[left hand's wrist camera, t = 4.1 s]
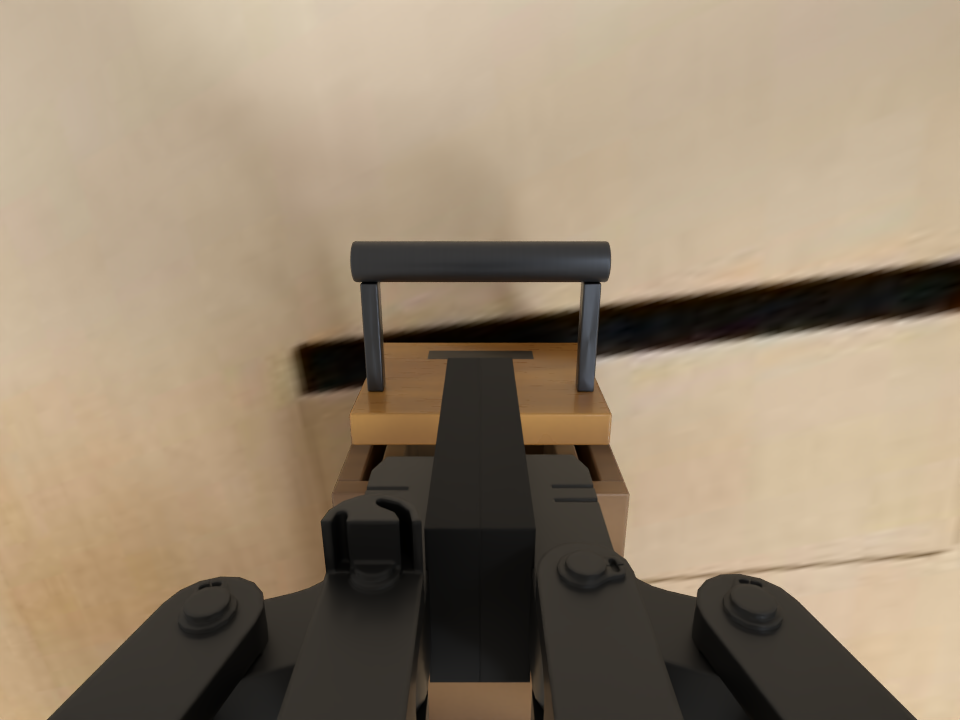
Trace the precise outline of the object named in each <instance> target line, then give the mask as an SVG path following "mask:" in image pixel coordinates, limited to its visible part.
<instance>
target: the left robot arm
mask: <svg viewBox="0 0 960 720" xmlns="http://www.w3.org/2000/svg"><path fill="white" fill-rule="evenodd" d="M321 528H322V537H323V547H324V556H325V565H326V575H325V578H324V581H322V582H320V583H318V584H316V585H314V586H312V587H310V588H308V589H305V590H302V591H298V592H295V593H291V594H287V595H283V596H279V597H274V598H270V599H266V600H264V598H263V593H262V591H261V590H260V589H259V588H258V587H257V585H256V584H255V583H254V582H251V581H248V580H246V579H243V578H240V577H217V578H213V579H208V580H203V581H199V582H197V583H195V584H193V585H191V586H188V587H186V588H184V589H182V590H180V591H179V592H177V593H176V594H175V595H173V596H172V597H171V598H169V599H168V600H167V601H165V602H164V603H163V604H162V605H161V606H160V607H159V608H158V609H157V610H156V611H155V612H154V613H153V614H152V615H151V616H150V617H149V618H148V619H147V620H146V621H145V622H144V623H143V624H142V625H141V626H140V627H139V628H138V629H137V630H136V631H135V632H134V633H133V634H132V635H131V636H130V637H129V638H128V639H127V640H126V641H125V642H124V643H123V644H122V645H121V646H120V647H119V648H118V649H117V650H116V651H115V652H114V653H113V654H112V655H111V656H110V657H109V658H108V659H107V660H106V661H105V662H104V663H103V664H102V665H101V666H100V667H99V668H98V669H97V670H96V671H95V672H94V673H93V674H92V675H91V676H90V677H89V678H88V679H87V680H86V681H85V682H84V683H83V684H82V685H81V686H80V687H79V688H78V689H77V690H76V691H75V692H74V693H73V694H72V695H71V696H70V697H69V698H68V699H67V700H66V701H65V702H64V703H63V704H62V705H61V706H60V707H59V708H58V709H57V710H56V711H55V712H54V713H53V714H52V715H51V716H50V717H49V718H48V719H47V720H429V702H428V683H429V673H430V682H530V673H531V680H532V702H531V720H917V719H916V718H915V717H914V716H913V715H912V714H911V713H910V712H909V711H908V710H907V709H906V708H905V707H904V706H903V705H902V704H901V703H900V702H899V701H898V700H897V699H896V698H895V697H894V696H893V695H892V694H891V693H890V692H889V691H888V690H887V689H886V688H885V687H884V686H883V685H882V684H881V683H880V682H879V681H878V680H877V679H876V678H875V677H874V676H873V675H872V674H871V673H870V672H869V671H868V670H867V669H866V668H865V667H864V666H863V665H862V664H861V663H860V662H859V661H858V660H857V659H856V658H855V657H854V656H853V655H852V654H851V653H850V652H849V651H848V650H847V649H846V648H845V647H844V646H843V645H842V644H841V643H840V642H839V641H838V640H837V639H836V638H835V637H834V636H833V635H832V634H831V633H830V632H829V631H828V630H827V629H826V628H825V627H824V626H823V625H822V624H821V623H820V622H819V621H817V620H816V619H815V618H814V617H813V616H812V615H811V614H810V613H809V612H808V611H807V610H806V609H805V608H804V607H803V606H802V605H801V604H800V603H799V602H798V601H797V600H796V599H795V598H794V597H792V596H791V595H790V594H788V593H787V592H786V591H784V590H783V589H782V588H780V587H778V586H776V585H774V584H771V583H769V582H767V581H765V580H763V579H760V578H756V577H751V576H746V575H742V574H724V575H718V576H716V577H713V578H710V579H708V580H706V581H705V582H704V583H703V584H702V586H701V587H700V588H699V589H698V592H697V597H693V596H688V595H684V594H680V593H675V592H671V591H667V590H664V589H660V588H657V587H654V586H651V585H649V584H647V583H645V582H643V581H641V580H639V579H637V578H636V577H635V574H634V571H633V570H632V568H631V567H630V565H629V564H628V562H627V560H626V559H624V558H623V557H622V556H620V555H619V554H618V553H616V552H615V551H614V549H613V546H612V543H611V540H610V536H609V533H608V530H607V527H606V524H605V520H604V517H603V514H602V511H601V508H600V504H599V502H598V498H597V495H596V492H595V488H593V482H592V479H591V476H590V472H589V469H588V468H587V467H586V466H585V465H584V464H583V463H582V462H581V461H579V460H578V459H577V458H576V457H575V456H574V455H573V454H525V446H524V439H523V432H522V424H521V417H520V410H519V403H518V395H517V388H516V381H515V374H514V366H513V359H512V358H448V359H447V366H446V374H445V381H444V388H443V395H442V403H441V410H440V417H439V424H438V432H437V439H436V446H435V454H434V456H387V457H386V458H385V459H384V460H383V461H382V462H381V463H380V464H378V465H377V466H376V467H375V468H374V469H373V470H372V472H371V475H370V478H369V481H368V485H367V490H366V491H365V494H364V495H360V496H357V497H354V498H351V499H348V500H345V501H342V502H341V503H339V504H338V505H336V506H335V507H333V508H332V509H330V510H329V511H328V512H327V514H326V515H325V516H324V518H323V519H322V520H321Z"/></svg>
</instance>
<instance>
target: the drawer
mask: <svg viewBox="0 0 960 720" xmlns="http://www.w3.org/2000/svg"><path fill="white" fill-rule="evenodd" d="M350 263H351V273H352V277H353V280H354V281H355V282H362V283H361V284H360V288H361V303H362V317H363V332H364V346H365V361H366V376H367V377H366V379H365V382H364V384H363V386H362V388H361V391H360V393H359V395H358V397H357V399H356V402H355V404H354V406H353V408H352V411H351V413H350V427H351V439H352V444H353V445H387V447H386V450H385V454H384V457H383V460H384V459H385V458H386V457H387V456H434V454H435V446H436V439H437V432H438V424H439V417H440V410H441V403H442V395H443V388H444V381H445V374H446V366H447V359H448V358H512V359H513V366H514V374H515V381H516V388H517V395H518V403H519V410H520V417H521V424H522V432H523V439H524V446H525V454H573V455H574V456H575V457H576V458H577V459H578V456H577V453H576V450H575V446H574V445H608V444H609V442H610V430H611V418H612V415H611V412H610V410H609V408H608V406H607V403H606V401H605V399H604V397H603V394H602V392H601V390H600V388H599V386H598V383H597V381H596V379H595V366H596V352H597V338H598V323H599V309H600V294H601V283H600V282H606V281H607V280H608V278H609V275H610V268H611V250H610V246H609V243H608V242H595V241H355V242H353V244H352V247H351V255H350ZM380 282H581V297H580V314H579V331H578V343H383V327H382V310H381V292H380ZM383 460H382V461H383Z"/></svg>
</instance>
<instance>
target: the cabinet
mask: <svg viewBox="0 0 960 720" xmlns="http://www.w3.org/2000/svg"><path fill="white" fill-rule="evenodd" d="M574 446H575V450H576V453H577V456H578V460H579V461H581V462H582V463H583V464H584V465H585V466H586V467H587V468H588V469H589V472H590V476H591V479H592V482H593V488H595V492H596V495H597V498H598V502H599V504H600V508H601V511H602V514H603V517H604V520H605V524H606V527H607V530H608V533H609V536H610V540H611V543H612V546H613V549H614V551H615V552H616V553H618V554H619V555H620V556H622V557H623V556H624V545H625V535H626V525H627V515H628V504H629V492H628V490H627V487H626V485H625V482H624V480H623V477H622V475H621V472H620V470H619V467H618V465H617V462H616V460H615V457H614V455H613V452H612V450H611V447H610V445H609V444H608V445H574ZM386 447H387V445H353V444H352V445H351V448H350V450H349V453H348V455H347V457H346V460H345V462H344V465H343V467H342V470H341V472H340V475H339V477H338V480H337V483H336V485H335V488H334V490H333V493H332V502H333V507H335V506H336V505H338V504H339V503H341V502H342V501H345V500H348V499H351V498H354V497H357V496H360V495H364V494H365V491H366V490H367V485H368V481H369V478H370V475H371V472H372V470H373V469H374V468H375V467H376V466H377V465H378V464H380V463H381V462H382V460H383V457H384V454H385V450H386ZM428 702H429V720H531V702H532V680H531V673H530V682H430V673H429V683H428Z"/></svg>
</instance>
